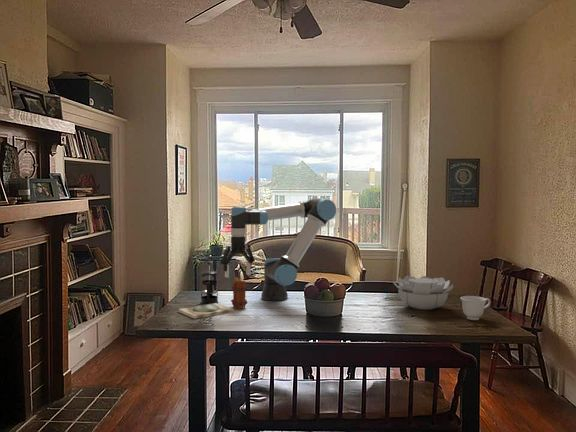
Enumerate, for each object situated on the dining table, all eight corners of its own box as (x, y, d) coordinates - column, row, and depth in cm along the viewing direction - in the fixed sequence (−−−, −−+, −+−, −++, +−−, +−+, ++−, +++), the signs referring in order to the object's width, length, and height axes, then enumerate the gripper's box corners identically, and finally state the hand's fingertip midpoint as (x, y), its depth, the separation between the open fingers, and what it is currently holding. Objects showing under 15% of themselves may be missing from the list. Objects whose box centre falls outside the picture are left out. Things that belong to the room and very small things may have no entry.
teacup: (496, 321, 240) (497, 300, 239) (467, 322, 237) (468, 301, 237) (482, 314, 252) (483, 295, 251) (455, 316, 249) (455, 296, 249)
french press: (216, 305, 270) (216, 262, 269) (199, 305, 270) (199, 262, 268) (219, 300, 282) (219, 259, 280) (202, 300, 281) (202, 259, 280)
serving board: (216, 305, 268) (216, 301, 268) (233, 311, 255) (233, 307, 255) (178, 312, 255) (178, 307, 254) (194, 318, 241) (194, 314, 241)
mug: (248, 309, 260) (248, 281, 259) (233, 310, 258) (233, 281, 257) (243, 303, 274) (243, 276, 273) (228, 304, 272) (228, 276, 271)
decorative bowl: (430, 299, 285) (430, 273, 284) (463, 312, 257) (464, 283, 256) (382, 303, 276) (383, 276, 275) (411, 316, 248) (412, 286, 247)
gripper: (253, 234, 275) (253, 272, 276) (213, 236, 259) (213, 277, 260) (261, 235, 269) (261, 274, 270) (221, 237, 253) (221, 279, 254)
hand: (237, 276), depth 265 cm, fingers open, 13 cm apart
